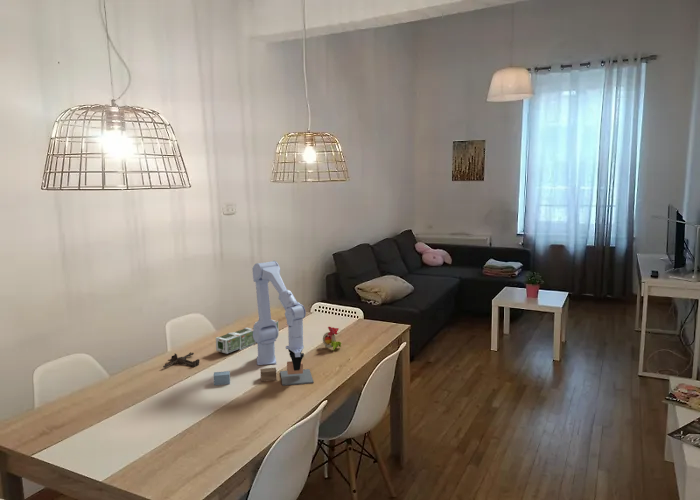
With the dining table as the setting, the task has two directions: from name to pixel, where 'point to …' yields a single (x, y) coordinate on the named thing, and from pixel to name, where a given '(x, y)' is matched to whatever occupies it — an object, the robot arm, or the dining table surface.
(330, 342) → the bird rattle
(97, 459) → the dining table surface
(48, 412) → the dining table surface
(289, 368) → the terracotta brick
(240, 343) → the green white framed bar
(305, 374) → the grey flat square slab
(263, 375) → the walnut brick
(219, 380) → the slate blue brick
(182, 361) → the dark action figure
